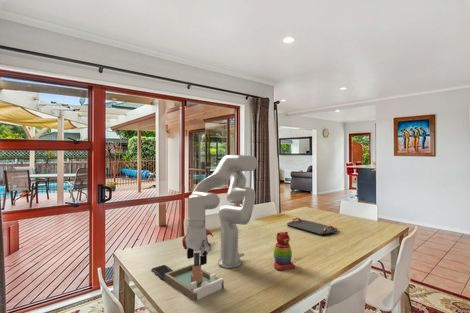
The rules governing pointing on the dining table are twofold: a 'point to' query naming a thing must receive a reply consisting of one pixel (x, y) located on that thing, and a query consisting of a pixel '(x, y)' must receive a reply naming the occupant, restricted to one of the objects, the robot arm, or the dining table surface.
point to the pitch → (193, 290)
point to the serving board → (312, 226)
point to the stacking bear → (283, 252)
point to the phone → (161, 271)
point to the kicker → (196, 270)
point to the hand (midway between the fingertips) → (196, 261)
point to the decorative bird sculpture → (207, 239)
